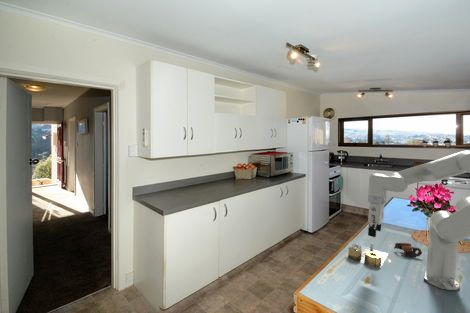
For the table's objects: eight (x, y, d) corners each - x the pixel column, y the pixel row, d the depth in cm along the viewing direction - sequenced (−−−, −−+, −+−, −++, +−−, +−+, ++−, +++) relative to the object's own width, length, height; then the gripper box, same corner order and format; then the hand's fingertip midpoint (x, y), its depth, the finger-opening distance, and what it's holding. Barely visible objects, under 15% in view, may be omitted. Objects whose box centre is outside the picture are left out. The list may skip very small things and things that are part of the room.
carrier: (379, 272, 112) (380, 258, 111) (344, 259, 123) (344, 247, 122) (388, 256, 126) (389, 244, 126) (356, 246, 137) (356, 235, 137)
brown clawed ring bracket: (395, 259, 125) (392, 242, 128) (397, 260, 132) (394, 244, 135) (423, 260, 118) (419, 242, 121) (424, 261, 125) (420, 244, 128)
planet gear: (379, 267, 113) (379, 259, 112) (362, 262, 117) (363, 254, 117) (382, 262, 118) (383, 254, 117) (366, 257, 123) (367, 249, 122)
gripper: (381, 204, 106) (378, 241, 108) (389, 197, 118) (387, 230, 120) (363, 201, 111) (360, 236, 113) (372, 194, 124) (370, 226, 125)
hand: (374, 233), depth 116 cm, fingers open, 9 cm apart
